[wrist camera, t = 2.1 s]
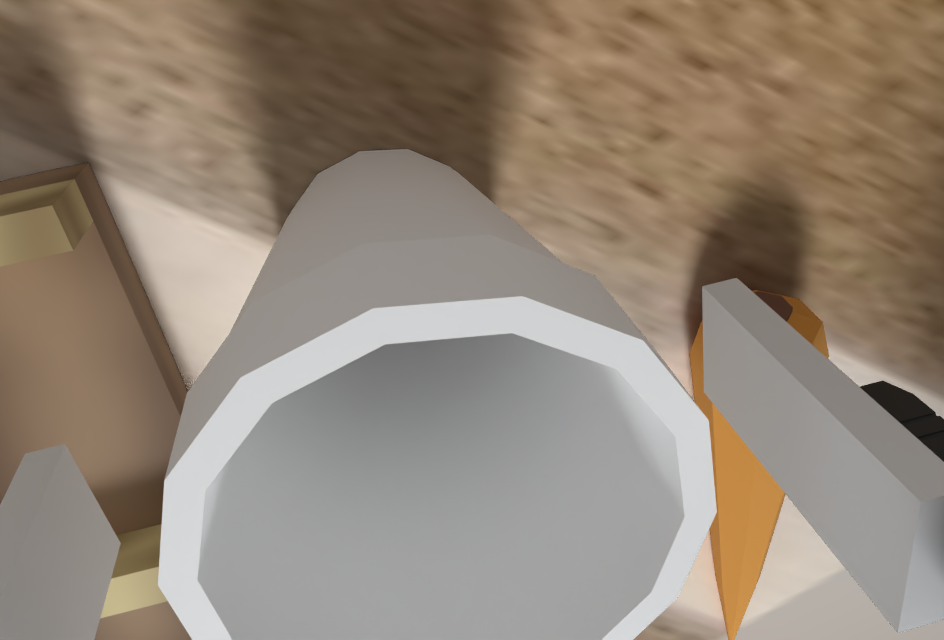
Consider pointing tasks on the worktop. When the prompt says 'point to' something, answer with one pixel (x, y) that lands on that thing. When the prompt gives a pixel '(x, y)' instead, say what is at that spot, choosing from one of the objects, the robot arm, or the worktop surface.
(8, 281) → the rack
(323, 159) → the worktop surface
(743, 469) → the carrot
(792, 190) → the worktop surface
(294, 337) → the foam cup
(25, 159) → the worktop surface
